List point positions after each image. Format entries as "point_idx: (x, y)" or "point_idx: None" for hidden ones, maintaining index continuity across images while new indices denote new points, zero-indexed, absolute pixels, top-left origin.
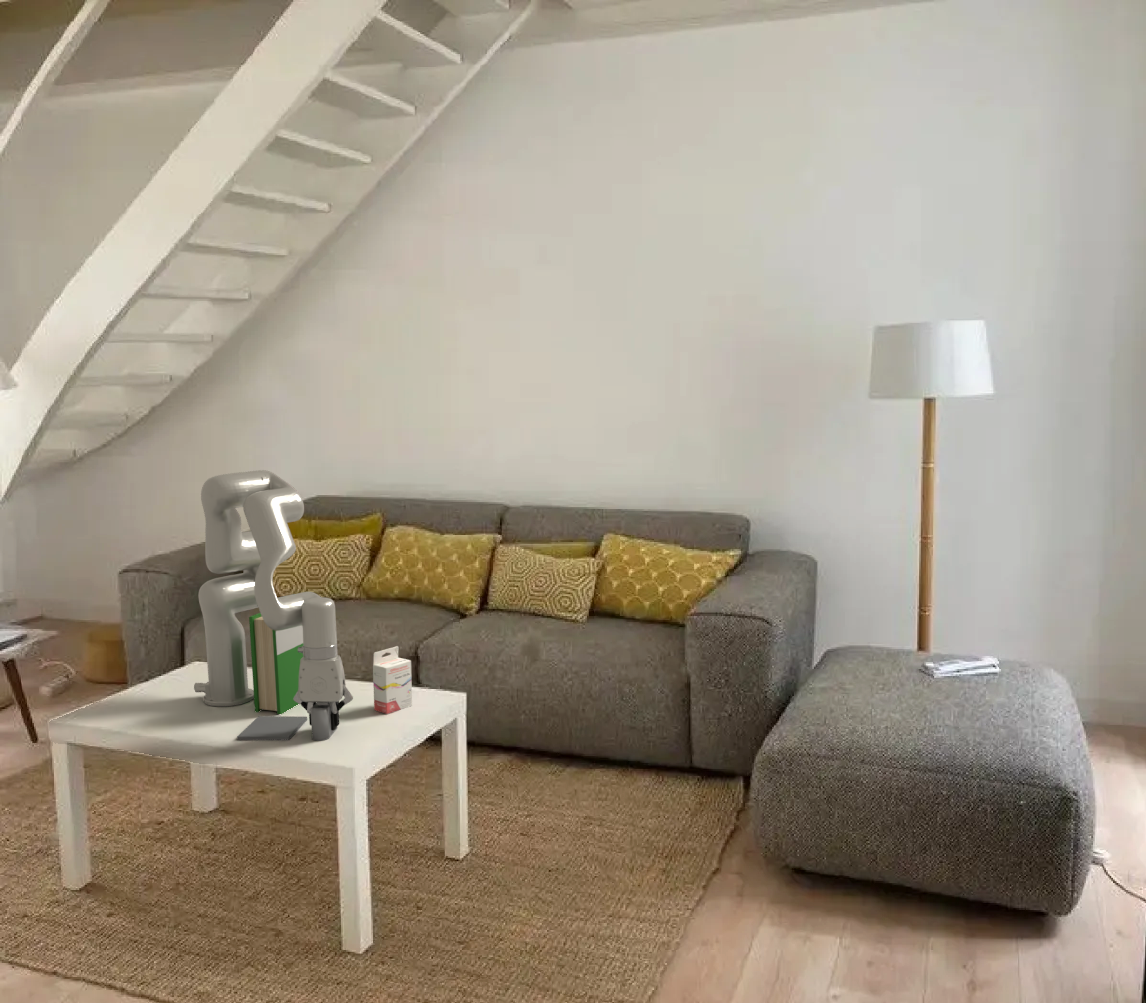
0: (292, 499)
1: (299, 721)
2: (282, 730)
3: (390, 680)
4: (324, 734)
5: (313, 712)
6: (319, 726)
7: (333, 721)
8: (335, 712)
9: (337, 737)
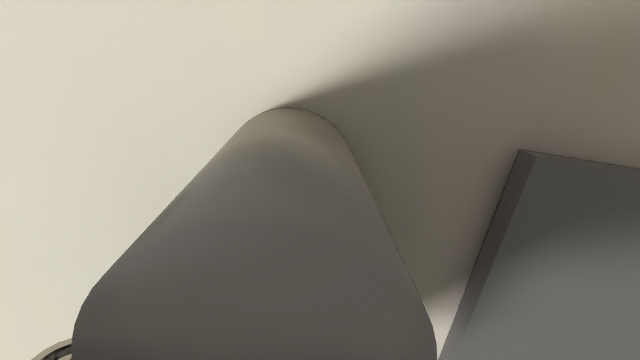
0: None
1: None
2: (563, 287)
3: None
4: (243, 128)
5: (364, 231)
6: (274, 132)
7: None
8: None
9: (166, 168)
